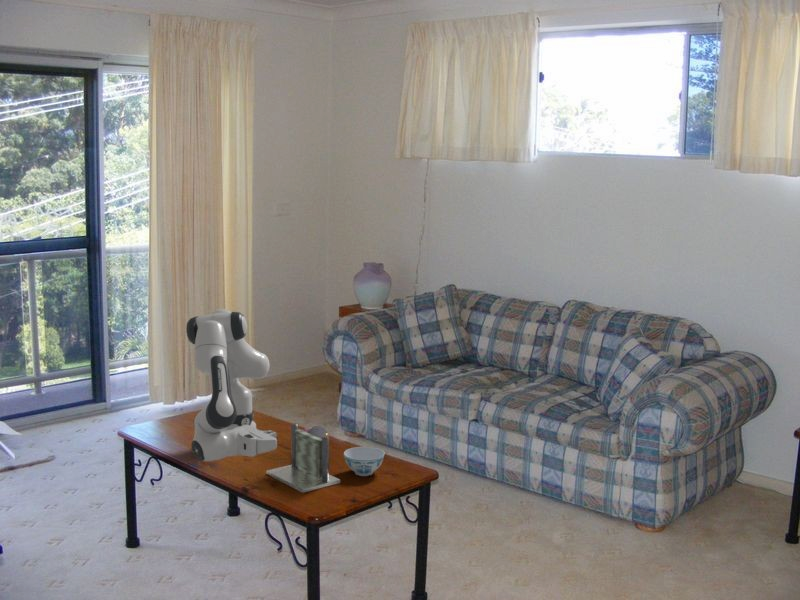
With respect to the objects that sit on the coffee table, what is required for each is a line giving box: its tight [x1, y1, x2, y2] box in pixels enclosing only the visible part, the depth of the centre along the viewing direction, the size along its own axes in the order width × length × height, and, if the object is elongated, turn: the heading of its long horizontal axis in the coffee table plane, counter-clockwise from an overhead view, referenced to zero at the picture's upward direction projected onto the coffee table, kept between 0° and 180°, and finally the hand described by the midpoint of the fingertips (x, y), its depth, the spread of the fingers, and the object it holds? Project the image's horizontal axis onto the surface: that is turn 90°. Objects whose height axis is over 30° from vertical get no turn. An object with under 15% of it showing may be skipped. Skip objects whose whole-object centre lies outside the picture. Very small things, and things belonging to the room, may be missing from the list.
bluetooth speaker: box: [308, 425, 329, 439], centre depth 336 cm, size 23×9×10 cm, turn 4°
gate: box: [295, 428, 322, 478], centre depth 315 cm, size 16×2×14 cm, turn 39°
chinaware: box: [343, 446, 385, 477], centre depth 320 cm, size 15×15×8 cm
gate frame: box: [265, 423, 341, 494], centre depth 313 cm, size 24×16×19 cm, turn 40°
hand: (274, 433), depth 303 cm, fingers closed
